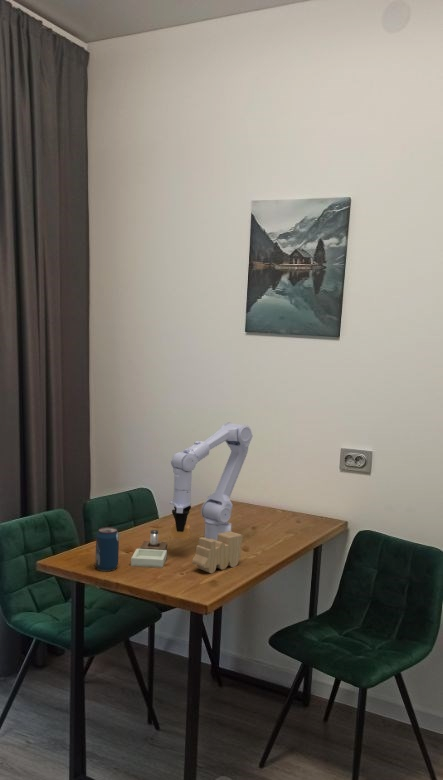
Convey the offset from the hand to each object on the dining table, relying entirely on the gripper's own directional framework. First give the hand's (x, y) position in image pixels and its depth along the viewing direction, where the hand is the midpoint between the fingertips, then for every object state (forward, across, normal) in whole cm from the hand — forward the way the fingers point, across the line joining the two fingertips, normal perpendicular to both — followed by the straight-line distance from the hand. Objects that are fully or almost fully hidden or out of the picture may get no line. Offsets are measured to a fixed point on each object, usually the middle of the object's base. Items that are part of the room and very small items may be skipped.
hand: (180, 529), depth 213 cm
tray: (+9, +8, -9) cm, 15 cm away
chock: (+2, 0, 0) cm, 2 cm away
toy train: (+9, +10, +13) cm, 19 cm away
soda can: (+9, +16, -21) cm, 28 cm away
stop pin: (+9, -2, -9) cm, 13 cm away
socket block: (+9, -2, -9) cm, 13 cm away
